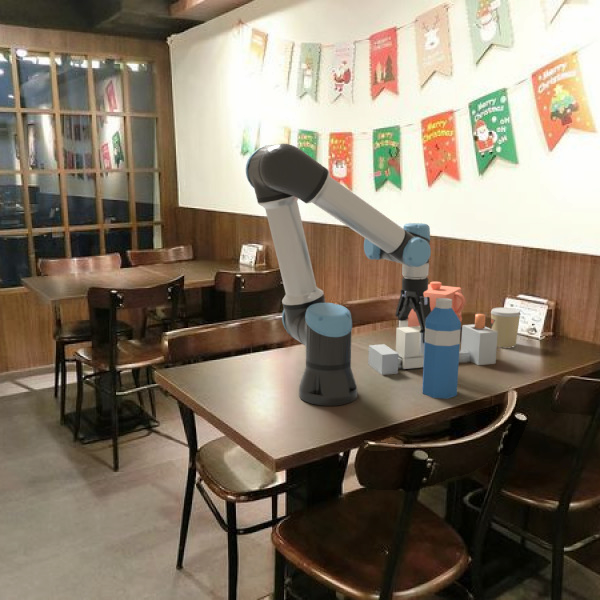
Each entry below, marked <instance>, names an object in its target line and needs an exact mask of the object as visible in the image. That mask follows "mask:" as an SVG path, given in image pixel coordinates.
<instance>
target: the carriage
mask: <svg viewBox="0 0 600 600" xmlns="http://www.w3.org/2000/svg"><path fill="white" fill-rule="evenodd" d="M395 329H396V331H395V332H396V333H395V334H396V336H395V337H396V338H395V352H397V353H398V356H400V357H402V358H403V363H402V368H401V369H403V370H406V369H408V370H409V369H419V368H423V365H424V354H419V341H420V332H419V331H420V330H421V327H420V326H413V327H400V328H399V327H396V328H395Z"/></svg>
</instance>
